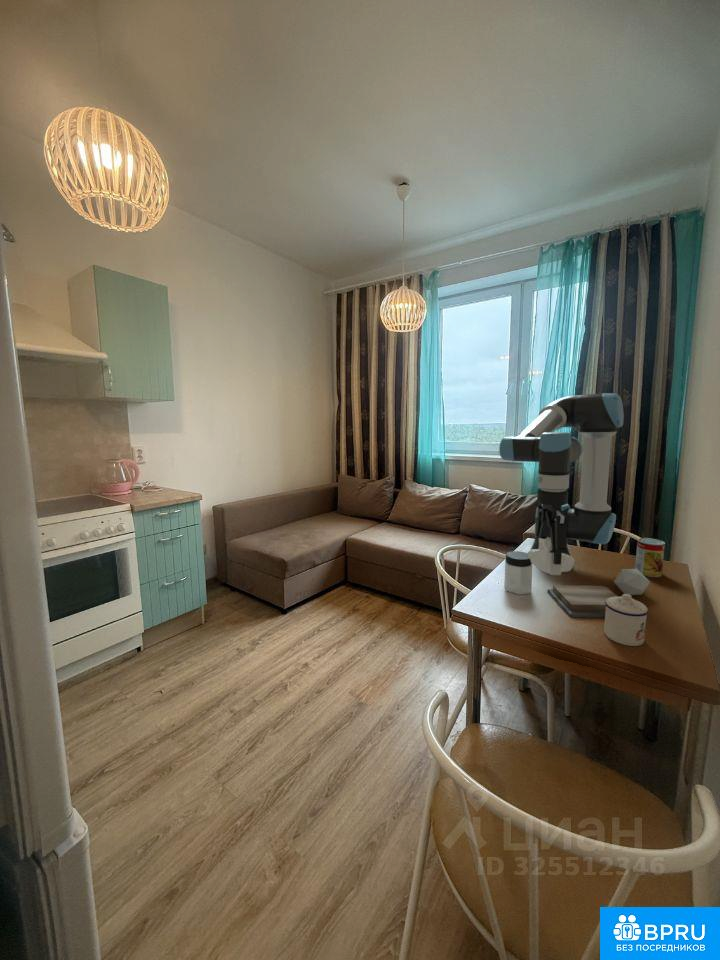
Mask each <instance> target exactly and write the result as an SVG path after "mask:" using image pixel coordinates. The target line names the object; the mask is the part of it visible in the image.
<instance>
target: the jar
mask: <svg viewBox="0 0 720 960" xmlns="http://www.w3.org/2000/svg"><path fill="white" fill-rule="evenodd" d="M532 582H533V564H532V563H531V560H530V558H529V557H528V552H523V551H518V550H516V551H515V550H512V551H508V552H506V553H505V560H504V583H503V584H504V588H505V591H506V592H508V591H509V593H512V592H513V593H512V594H515V593H516V594H515V595H519V594H521V595H524V594H525V595H526V593H527V594H531V593H532V586H533V585H532V584H533V583H532Z"/></svg>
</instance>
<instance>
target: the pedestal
mask: <svg viewBox="0 0 720 960" xmlns="http://www.w3.org/2000/svg"><path fill="white" fill-rule="evenodd" d="M547 593H548V595H550V596H551V598H552V599H553V600H554V601H555V602H556V603H557V605H558V606H560V608H561V609H562V610H563V611H564V612H565V614H566V615H568V617H570V618H571V617H572V618H573V617H575V618H605V613H606V604H605V602H606V600H607V599H608V598H610V597H619V596H618V594H615V593H614V591H612V590H611V589H609V588H608V587H606V586H605V585H554V584H553V586H552V588H551V589H549V588H547Z"/></svg>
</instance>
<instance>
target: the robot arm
mask: <svg viewBox="0 0 720 960" xmlns="http://www.w3.org/2000/svg"><path fill="white" fill-rule="evenodd" d="M624 414H625V413H624V405H623V401H622V398H621V396H620V395H619V394H618V393H614V392H612V393H611V392H610V393H609V392H608V393H607V392H603V393H592V394H591V393H590V394H588V393H587V394H573V395H571V394H570V395H567V396H563V397H561V398H558V399H556V400H554V401H551V402H550V403H548V404H547V405H546V406H544V407H543V408H541V410H540V411H539V413H538V416H537V417H536V418H535V419H534V420H533V421H531V422H530V423H529V424H528V425H527V426H526V427H525V428H524V429H523V430H522V431H521V432H519V433H518V434H517V435H516V436H505V437H503V438H502V439H501V441H500V442H499V447H498V448H499V449H498V450H499V452H498V453H499V456H500V458H501V459H502V460H504V461H510V462H529V463H530V462H531V463H538V476H537V477H536V481H537V487H538V489H537V491H536V492H537V495H536V497H537V499H536V501H537V503H538V504H537V507H536V508H535V515H534V518H535V521H534V541H533V542H532V545H531V548H530V550H532V549H539V550H544V548H541V543H540V542H539V538H542V539H546V538H547V537H549V538H551V543H552V550H550V572H549V573H548V574H549V575H550V576H561V575H562V572H561V563H562V553H563V554H567V555H569V556H571V553H570V549H569V546H568V540H575V541H580V542H586V543H591V544H598V545H606V544H608V543H609V542H610V540H611V538H612V536H613V534H614V533H613V532H614V529H615V525H616V521H617V514H615V513H614V512H612V507H611V505H609V504H608V489H609V478H610V476H609V475H610V465H611V463H610V462H611V447H612V438H613V436H614V435H616V434H617V433H618V428H622V427H623V425H624V419H625V418H624V417H625V415H624ZM562 428H578V433H579V434H580V435H581V436H582V438H583V439H582V442H581V441H580V440H579V439H578V438H576V437H574V436H572V435H571V433H570V432H568V431H558V430H561V429H562ZM580 457H581V469H580V470H581V472H580V484H579V485H580V486H579V487H580V488H579V501H578V502H577V503H575V504H574V508H571V506H570V505H569V503H568V501H569V491H568V489H569V487H570V468H571V467H570V466H571V465H570V464H571V463H574V462H575V461H577V460H578V459H579V458H580ZM571 557H572V556H571Z"/></svg>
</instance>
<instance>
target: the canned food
mask: <svg viewBox="0 0 720 960" xmlns="http://www.w3.org/2000/svg"><path fill="white" fill-rule="evenodd" d="M665 547H666V542H665V541H664V540H661V539H657V538H650V537H640V538H638V539H637V544H636V555H635V556H636V557H635V566H634V567H635V568H634V569H638V570H639V571H640V572H641V573H642V574H643V575H644V576H645V577H648V578H660V577H662V576H663V566H664V558H665Z"/></svg>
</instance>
